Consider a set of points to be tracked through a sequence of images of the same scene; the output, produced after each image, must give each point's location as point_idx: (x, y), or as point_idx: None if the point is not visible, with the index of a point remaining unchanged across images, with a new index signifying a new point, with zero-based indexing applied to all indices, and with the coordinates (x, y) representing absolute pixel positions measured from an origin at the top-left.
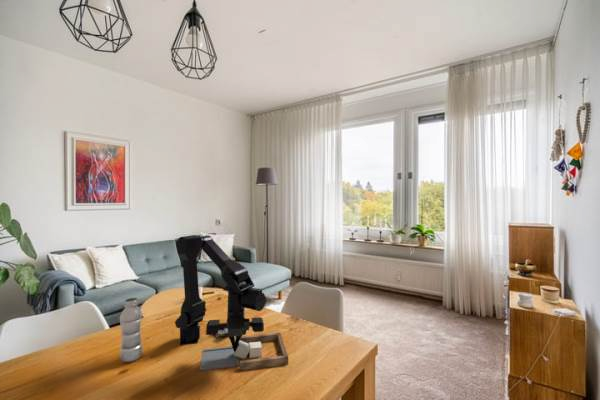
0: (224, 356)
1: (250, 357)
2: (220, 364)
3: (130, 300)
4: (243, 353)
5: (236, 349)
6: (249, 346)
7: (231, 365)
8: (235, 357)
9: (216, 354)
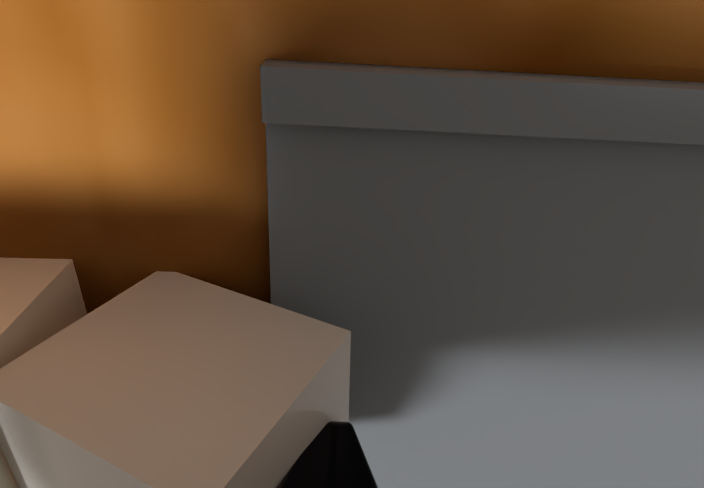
0: (497, 394)
1: (49, 271)
2: (611, 202)
3: None
4: (152, 339)
5: (294, 440)
6: (9, 482)
7: (422, 71)
8: None
9: (600, 458)
